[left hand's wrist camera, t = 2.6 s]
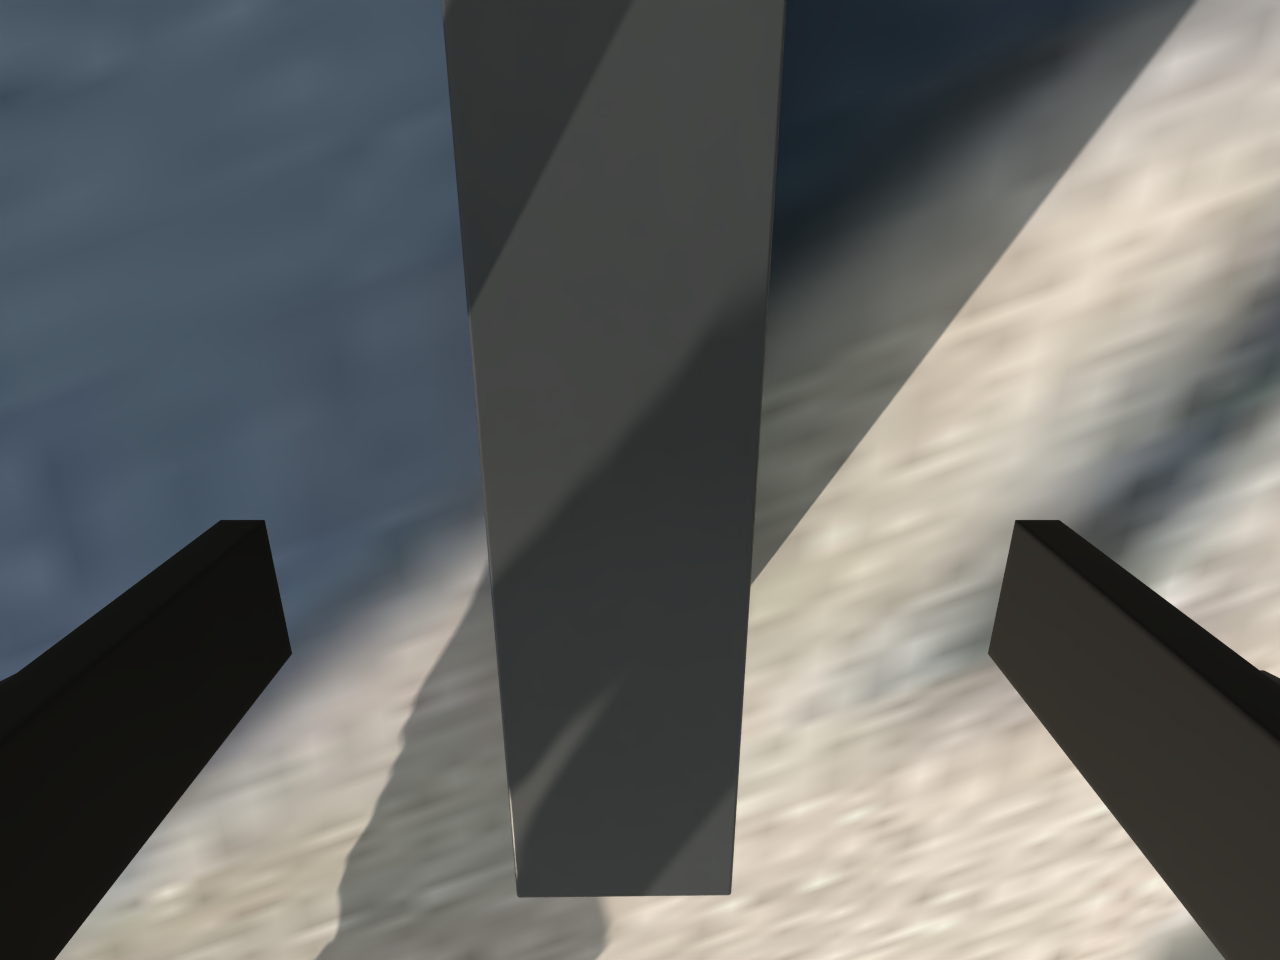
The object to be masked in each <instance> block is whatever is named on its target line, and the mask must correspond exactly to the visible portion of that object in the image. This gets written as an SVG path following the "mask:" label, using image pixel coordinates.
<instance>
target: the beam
mask: <svg viewBox="0 0 1280 960" xmlns="http://www.w3.org/2000/svg"><path fill="white" fill-rule="evenodd" d="M441 2H442V14H443V26H444V37H445V49H446V61H447V73H448V85H449V96H450V108H451V120H452V132H453V144H454V155H455V167H456V179H457V191H458V203H459V215H460V226H461V238H462V250H463V262H464V274H465V285H466V297H467V309H468V321H469V333H470V344H471V356H472V368H473V380H474V392H475V404H476V415H477V427H478V439H479V451H480V463H481V474H482V486H483V498H484V510H485V522H486V533H487V545H488V557H489V569H490V581H491V593H492V604H493V616H494V628H495V640H496V652H497V663H498V675H499V687H500V699H501V711H502V722H503V734H504V746H505V758H506V770H507V782H508V793H509V805H510V817H511V829H512V841H513V852H514V864H515V876H516V888H517V896H518V897H603V896H695V895H730V894H731V887H732V871H733V855H734V839H735V823H736V807H737V791H738V775H739V759H740V743H741V727H742V711H743V695H744V679H745V663H746V647H747V631H748V615H749V599H750V584H751V568H752V552H753V536H754V520H755V504H756V488H757V472H758V456H759V440H760V424H761V408H762V392H763V376H764V360H765V344H766V328H767V312H768V297H769V281H770V265H771V249H772V233H773V217H774V201H775V185H776V169H777V153H778V137H779V121H780V105H781V89H782V73H783V57H784V41H785V25H786V10H787V0H441Z"/></svg>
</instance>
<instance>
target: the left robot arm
mask: <svg viewBox="0 0 1280 960" xmlns="http://www.w3.org/2000/svg"><path fill="white" fill-rule="evenodd" d="M291 654H292V651H291V646H290V642H289V637H288V632H287V627H286V622H285V617H284V612H283V608H282V603H281V598H280V593H279V588H278V583H277V578H276V573H275V569H274V564H273V559H272V554H271V549H270V544H269V539H268V534H267V530H266V525H265V520H220V521H219V522H218V523H216V524H215V525H214V526H212V527H211V528H210V529H208V530H207V531H206V532H204V533H203V534H202V535H200V536H199V537H198V538H196V539H195V540H194V541H192V542H191V543H190V544H188V545H187V546H186V547H184V548H183V549H182V550H180V551H179V552H178V553H176V554H175V555H174V556H172V557H171V558H170V559H168V560H167V561H166V562H164V563H163V564H162V565H160V566H159V567H158V568H156V569H155V570H154V571H152V572H151V573H150V574H148V575H147V576H146V577H144V578H143V579H142V580H140V581H139V582H138V583H136V584H135V585H134V586H132V587H131V588H130V589H128V590H127V591H126V592H124V593H123V594H122V595H120V596H119V597H118V598H116V599H115V600H114V601H112V602H111V603H110V604H108V605H107V606H106V607H104V608H103V609H102V610H100V611H99V612H98V613H96V614H95V615H94V616H92V617H91V618H90V619H88V620H87V621H86V622H84V623H83V624H82V625H80V626H79V627H78V628H76V629H75V630H74V631H72V632H71V633H70V634H68V635H67V636H66V637H64V638H63V639H62V640H60V641H59V642H58V643H56V644H55V645H54V646H52V647H51V648H50V649H48V650H47V651H46V652H44V653H43V654H42V655H40V656H39V657H38V658H36V659H35V660H34V661H32V662H31V663H30V664H28V665H27V666H26V667H24V668H23V669H22V670H20V671H19V672H18V673H16V674H14V675H12V676H10V677H8V678H6V679H4V680H2V681H0V960H55V958H56V957H57V956H58V954H59V953H60V952H61V951H62V949H63V948H64V947H65V945H66V944H67V943H68V942H69V940H70V939H71V938H72V936H73V935H74V934H75V933H76V931H77V930H78V929H79V927H80V926H81V925H82V924H83V922H84V921H85V920H86V918H87V917H88V916H89V915H90V913H91V912H92V911H93V909H94V908H95V907H96V906H97V904H98V903H99V902H100V900H101V899H102V898H103V897H104V895H105V894H106V893H107V891H108V890H109V889H110V888H111V886H112V885H113V884H114V882H115V881H116V880H117V878H118V877H119V876H120V875H121V873H122V872H123V871H124V869H125V868H126V867H127V866H128V864H129V863H130V862H131V860H132V859H133V858H134V857H135V855H136V854H137V853H138V851H139V850H140V849H141V848H142V846H143V845H144V844H145V842H146V841H147V840H148V839H149V837H150V836H151V835H152V833H153V832H154V831H155V830H156V828H157V827H158V826H159V824H160V823H161V822H162V821H163V819H164V818H165V817H166V815H167V814H168V813H169V812H170V810H171V809H172V808H173V806H174V805H175V804H176V802H177V801H178V800H179V799H180V797H181V796H182V795H183V793H184V792H185V791H186V790H187V788H188V787H189V786H190V784H191V783H192V782H193V781H194V779H195V778H196V777H197V775H198V774H199V773H200V772H201V770H202V769H203V768H204V766H205V765H206V764H207V763H208V761H209V760H210V759H211V757H212V756H213V755H214V754H215V752H216V751H217V750H218V748H219V747H220V746H221V745H222V743H223V742H224V741H225V739H226V738H227V737H228V736H229V734H230V733H231V732H232V730H233V729H234V728H235V727H236V725H237V724H238V723H239V721H240V720H241V719H242V717H243V716H244V715H245V714H246V712H247V711H248V710H249V708H250V707H251V706H252V705H253V703H254V702H255V701H256V699H257V698H258V697H259V696H260V694H261V693H262V692H263V690H264V689H265V688H266V687H267V685H268V684H269V683H270V681H271V680H272V679H273V678H274V676H275V675H276V674H277V672H278V671H279V670H280V669H281V667H282V666H283V665H284V663H285V662H286V661H287V660H288V658H289V657H290V656H291ZM988 654H989V656H990V657H991V658H992V660H993V661H994V662H995V663H996V665H997V666H998V667H999V669H1000V670H1001V671H1002V672H1003V674H1004V675H1005V676H1006V678H1007V679H1008V680H1009V681H1010V683H1011V684H1012V685H1013V687H1014V688H1015V689H1016V690H1017V692H1018V693H1019V694H1020V696H1021V697H1022V698H1023V699H1024V701H1025V702H1026V703H1027V705H1028V706H1029V707H1030V708H1031V710H1032V711H1033V712H1034V714H1035V715H1036V716H1037V717H1038V719H1039V720H1040V721H1041V723H1042V724H1043V725H1044V727H1045V728H1046V729H1047V730H1048V732H1049V733H1050V734H1051V736H1052V737H1053V738H1054V739H1055V741H1056V742H1057V743H1058V745H1059V746H1060V747H1061V748H1062V750H1063V751H1064V752H1065V754H1066V755H1067V756H1068V757H1069V759H1070V760H1071V761H1072V763H1073V764H1074V765H1075V766H1076V768H1077V769H1078V770H1079V772H1080V773H1081V774H1082V775H1083V777H1084V778H1085V779H1086V781H1087V782H1088V783H1089V784H1090V786H1091V787H1092V788H1093V790H1094V791H1095V792H1096V793H1097V795H1098V796H1099V797H1100V799H1101V800H1102V801H1103V802H1104V804H1105V805H1106V806H1107V808H1108V809H1109V810H1110V812H1111V813H1112V814H1113V815H1114V817H1115V818H1116V819H1117V821H1118V822H1119V823H1120V824H1121V826H1122V827H1123V828H1124V830H1125V831H1126V832H1127V833H1128V835H1129V836H1130V837H1131V839H1132V840H1133V841H1134V842H1135V844H1136V845H1137V846H1138V848H1139V849H1140V850H1141V851H1142V853H1143V854H1144V855H1145V857H1146V858H1147V859H1148V860H1149V862H1150V863H1151V864H1152V866H1153V867H1154V868H1155V869H1156V871H1157V872H1158V873H1159V875H1160V876H1161V877H1162V878H1163V880H1164V881H1165V882H1166V884H1167V885H1168V886H1169V888H1170V889H1171V890H1172V891H1173V893H1174V894H1175V895H1176V897H1177V898H1178V899H1179V900H1180V902H1181V903H1182V904H1183V906H1184V907H1185V908H1186V909H1187V911H1188V912H1189V913H1190V915H1191V916H1192V917H1193V918H1194V920H1195V921H1196V922H1197V924H1198V925H1199V926H1200V927H1201V929H1202V930H1203V931H1204V933H1205V934H1206V935H1207V936H1208V938H1209V939H1210V940H1211V942H1212V943H1213V944H1214V945H1215V947H1216V948H1217V949H1218V951H1219V952H1220V953H1221V954H1222V956H1223V957H1224V958H1225V960H1280V678H1278V677H1276V676H1274V675H1272V674H1270V673H1268V672H1266V671H1264V670H1258V669H1257V668H1256V667H1254V666H1253V665H1252V664H1250V663H1249V662H1248V661H1246V660H1245V659H1244V658H1242V657H1241V656H1240V655H1238V654H1237V653H1236V652H1234V651H1233V650H1232V649H1230V648H1229V647H1228V646H1226V645H1225V644H1224V643H1222V642H1221V641H1220V640H1218V639H1217V638H1216V637H1214V636H1213V635H1212V634H1210V633H1209V632H1208V631H1206V630H1205V629H1204V628H1202V627H1201V626H1200V625H1198V624H1197V623H1196V622H1194V621H1193V620H1192V619H1190V618H1189V617H1188V616H1186V615H1185V614H1184V613H1182V612H1181V611H1180V610H1178V609H1177V608H1176V607H1174V606H1173V605H1172V604H1170V603H1169V602H1168V601H1166V600H1165V599H1164V598H1162V597H1161V596H1160V595H1158V594H1157V593H1156V592H1154V591H1153V590H1152V589H1150V588H1149V587H1148V586H1146V585H1145V584H1144V583H1142V582H1141V581H1140V580H1138V579H1137V578H1136V577H1134V576H1133V575H1132V574H1130V573H1129V572H1128V571H1126V570H1125V569H1124V568H1122V567H1121V566H1120V565H1118V564H1117V563H1116V562H1114V561H1113V560H1112V559H1110V558H1109V557H1108V556H1106V555H1105V554H1104V553H1102V552H1101V551H1100V550H1098V549H1097V548H1096V547H1094V546H1093V545H1092V544H1090V543H1089V542H1088V541H1086V540H1085V539H1084V538H1082V537H1081V536H1080V535H1078V534H1077V533H1076V532H1074V531H1073V530H1072V529H1070V528H1069V527H1068V526H1066V525H1065V524H1064V523H1062V522H1061V521H1060V520H1015V525H1014V530H1013V534H1012V539H1011V544H1010V549H1009V554H1008V559H1007V564H1006V569H1005V573H1004V578H1003V583H1002V588H1001V593H1000V598H999V603H998V608H997V612H996V617H995V622H994V627H993V632H992V637H991V642H990V646H989V651H988Z"/></svg>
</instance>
